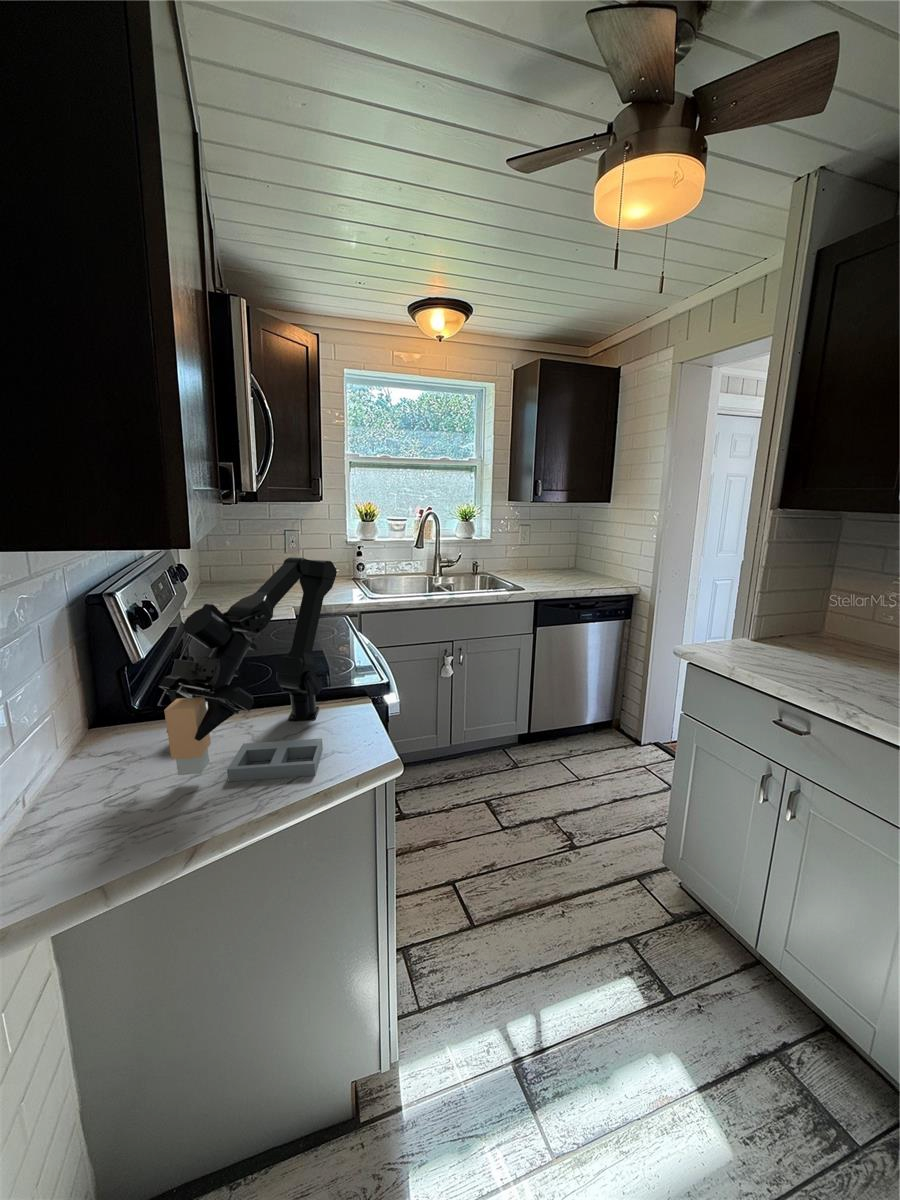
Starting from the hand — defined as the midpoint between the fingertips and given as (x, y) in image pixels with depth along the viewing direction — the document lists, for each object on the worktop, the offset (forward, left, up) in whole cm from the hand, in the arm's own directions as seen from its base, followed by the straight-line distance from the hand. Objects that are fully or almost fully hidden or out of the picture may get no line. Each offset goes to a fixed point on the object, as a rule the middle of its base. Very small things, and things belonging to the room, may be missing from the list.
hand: (182, 736), depth 88 cm
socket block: (-6, +15, -10) cm, 19 cm away
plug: (-1, +1, -7) cm, 7 cm away
